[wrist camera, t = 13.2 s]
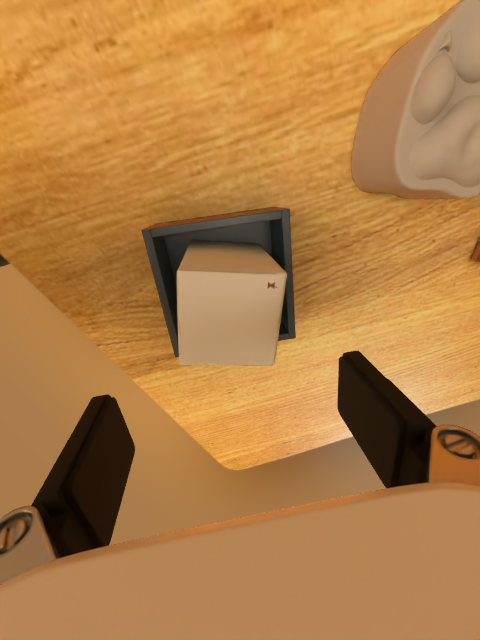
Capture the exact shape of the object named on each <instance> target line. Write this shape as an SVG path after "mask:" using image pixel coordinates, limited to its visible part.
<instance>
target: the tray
mask: <svg viewBox="0 0 480 640" xmlns="http://www.w3.org/2000/svg"><path fill="white" fill-rule="evenodd" d="M471 260H473V261H476V262H480V242H479V244H478V246H477V248H476V250H475V252H474V254H473V256H472V258H471Z"/></svg>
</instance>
